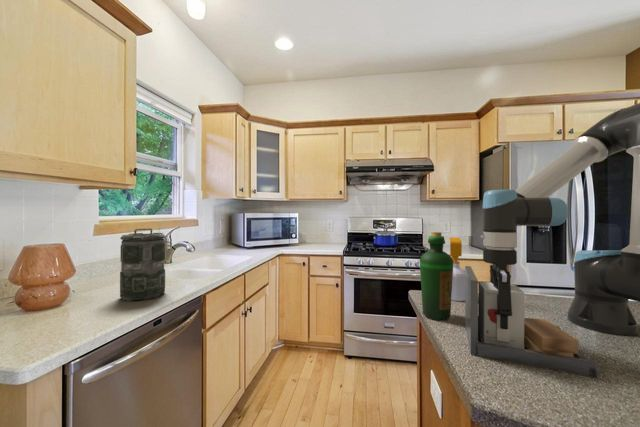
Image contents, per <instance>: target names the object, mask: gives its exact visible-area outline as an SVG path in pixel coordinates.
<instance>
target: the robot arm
mask: <svg viewBox="0 0 640 427" xmlns="http://www.w3.org/2000/svg"><path fill="white" fill-rule="evenodd" d="M622 151H625V152H626V154H627V153H628V154H629V155H630V156H632V158H633V166H632V167H633V168H632V169H633V171H632V189H631V190H632V191H631V204H630V205H631V208H630V227H629V244H628V245H627V246H626V247H624V248H622V249H620V250H609V249H608V250H607V249H606V250H596V249H595V250H592V249H591V250H578V251H576V253H575V255H574V262H573V266H574V267H573V270H574V297H573V299H572V302H571V303H570V306H569V308H568V310H567V320H568V321H569V322H570V323H572V324H575V325H577V326H580V327H582V328H585V329H589V330H593V331H597V332H600V333H606V334H607V333H608V334H614V335H621V336H622V335H623V336H625V335H626V336H627V335H628V336H630V335H631V336H632V335H637V334H638V332H639V326H638V322H637V321H636V318H635V315H634V313H633V311H632V309H631V307H630V303H629V301H630V300H631V301H634V302H638V303H640V102H639V103H636V104H634V105H631V106H627V107H624V108H622V109H619V110H617V111H616V110H615V111H614V112H612V113H610V114H609V115H607V116H605V117H604V118H602V119H601V120H599V121H597V122H596V123H595V124H593V125H592V126H591V127H589V128H588V129H587V130H586V131H584V132H582V133H581V134H580V135H579V136H578V137H576V138H575V139H574V140H573V141H572V143H571V147H569V148H568V149H567V150H565V151H564V152H563V153H561V154H560V155H558V157H556V158H555V159H554V160H551V162H549V163H548V164H547V165H546V166H544V168H543V167H542V169H541V170H539V171H538V172H536V173H535V174H534V175H533V176H531V178H529V179H528V180H527V181H525V182H524V183H523V184H522V185H520V186H519V187H517V188H516V189H508V188H507V189H493V190H492V189H491V190H487V191H485V192H484V194H483V199H482V206H481V207H482V212H483V213H482V217H483V218H482V225H483V227H482V229H483V230H482V231H483V234H481V235H480V239H483V240H482V242H483V243H482V244H483V246H484V248H483V249H482V260H483V262H485V263H487V264H490V266H489V268H490V269H489V274H490V275H489V276H490V277H489V280H490V281H489V282H491V283H492V284H493V286H494V287H495V288H496V289H498V295H497V309H498V311H497V312H496V311H495V312H494V314H496V315H497V340H499V341H505V342H510V316H512V306H511V286H510V284H511V278H512V275H511V273H510V271H509V270H508V266H509V265H510V266H513V265H516V264H517V263H518V262H517V261H518V256H517V254H518V251H517V250H516V248H517V247H518V232H517V230H518V227H522V226H526V227H547V228H548V227H556V226H562V224H564V223H565V222H566V220H567V219H568V217H569V207H568V205H567V203H566V202H565V201H564V200H563V199H561V198H558V197H551V196H552V195H553V194H554V193H557V191H559V190H560V189H562V188H563V187H564V186H565V185H567V184H568V183H569V182H570V181H572V180H573V179H574V178H576V177H577V176H578V175H580V174H581V173H582V172H584V171H585V170H586V169H588V168H589V167H590V166H591V165H593V164H594V163H600V162H603V161H605V159H607V158H609V156H611V155H614V154H617V153H619V152H622ZM503 309H505V310H503Z"/></svg>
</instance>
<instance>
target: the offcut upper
mask: <svg viewBox="0 0 640 427" xmlns="http://www.w3.org/2000/svg"><path fill="white" fill-rule="evenodd" d="M557 326H558V325H557ZM557 326H556V325H555V324H553V323H552V322H550V321H549V320H547V319H542V318H541V319H540V318H529V317H524V335H525V336H526V337H527V338H529V339H530V340H531V341H532V342H533V343H534V344H536V345H537V346H538V347H539V348H540V349H541V350H544V351H554V352H564V353H574V354H578V350H579V340H578V339H577V338H575V337H573V336H572V335H570V334H569V333H568V332H566V331H564V330H563V329H560V328H561V327H560V328H558V327H557Z"/></svg>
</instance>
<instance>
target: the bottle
mask: <svg viewBox="0 0 640 427" xmlns="http://www.w3.org/2000/svg"><path fill="white" fill-rule="evenodd" d="M427 244H428V245H429V250H428V251H426V252H425V253H423V254H422V255H421V257H420V258H419V269H420V270H419V271H420V286H421V303H422V305H421V306H422V315H423V316H425V317H426V318H429V319H430V320H436V321H446V320H449V319H451V312H452V311H451V310H452V309H451V308H452V300H451V297H452V280H453V263H454V260H453V258H452V257H451V256H450V255H449V254H450V253H447V252H445V251H444V244H446V241H445V236H444V235H442V231H441V232H440V231H438V232H437V231H432V232H431V235H429V236H428V239H427Z"/></svg>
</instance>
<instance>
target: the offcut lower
mask: <svg viewBox="0 0 640 427" xmlns="http://www.w3.org/2000/svg"><path fill="white" fill-rule="evenodd" d="M524 347H525V348H526V350H532V351H538V352H544V353H550V354H557V355H563V356H569V357H573V353H564V352H554V351H544V350H541V349H540V348H539V347H538V346H537V345H536V344H534V343H533V342H532V341H531V340H530V339H529V338H527V337H526V336H525V335H524Z"/></svg>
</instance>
